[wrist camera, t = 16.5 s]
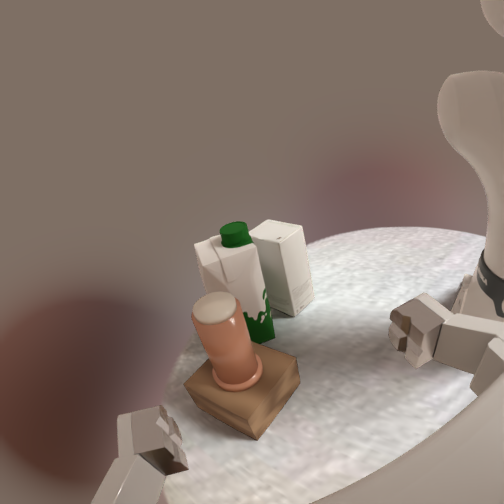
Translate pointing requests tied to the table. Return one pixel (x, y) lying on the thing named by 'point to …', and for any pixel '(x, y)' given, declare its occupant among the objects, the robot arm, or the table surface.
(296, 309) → the skincare box
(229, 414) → the block
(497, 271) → the robot arm
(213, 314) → the canister
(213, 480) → the table surface
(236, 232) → the milk carton
